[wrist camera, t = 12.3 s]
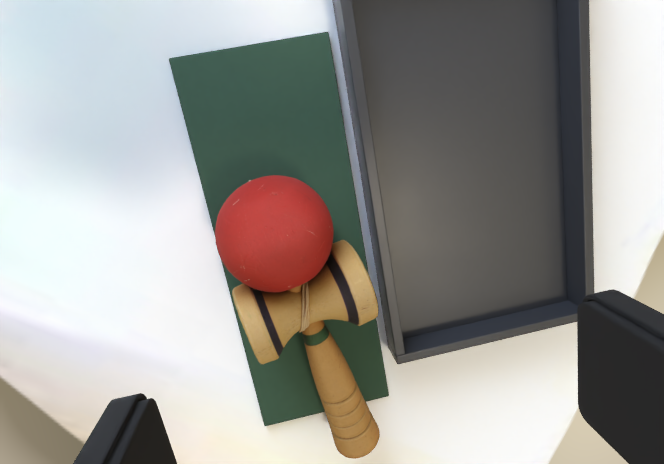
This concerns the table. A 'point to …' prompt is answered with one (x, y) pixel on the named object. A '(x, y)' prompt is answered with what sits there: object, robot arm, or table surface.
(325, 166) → the mat
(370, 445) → the kendama
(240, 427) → the table surface
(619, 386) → the robot arm
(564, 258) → the dark grey flat tray
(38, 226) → the table surface
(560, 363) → the table surface
